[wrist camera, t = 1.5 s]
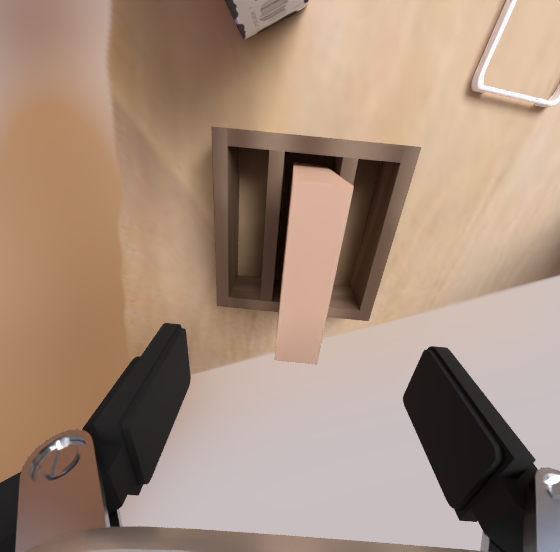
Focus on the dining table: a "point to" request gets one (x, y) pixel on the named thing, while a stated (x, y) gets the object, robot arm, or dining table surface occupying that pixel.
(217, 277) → the slotted box
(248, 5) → the candy box
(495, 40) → the phone case
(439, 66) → the dining table surface
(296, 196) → the pink block
